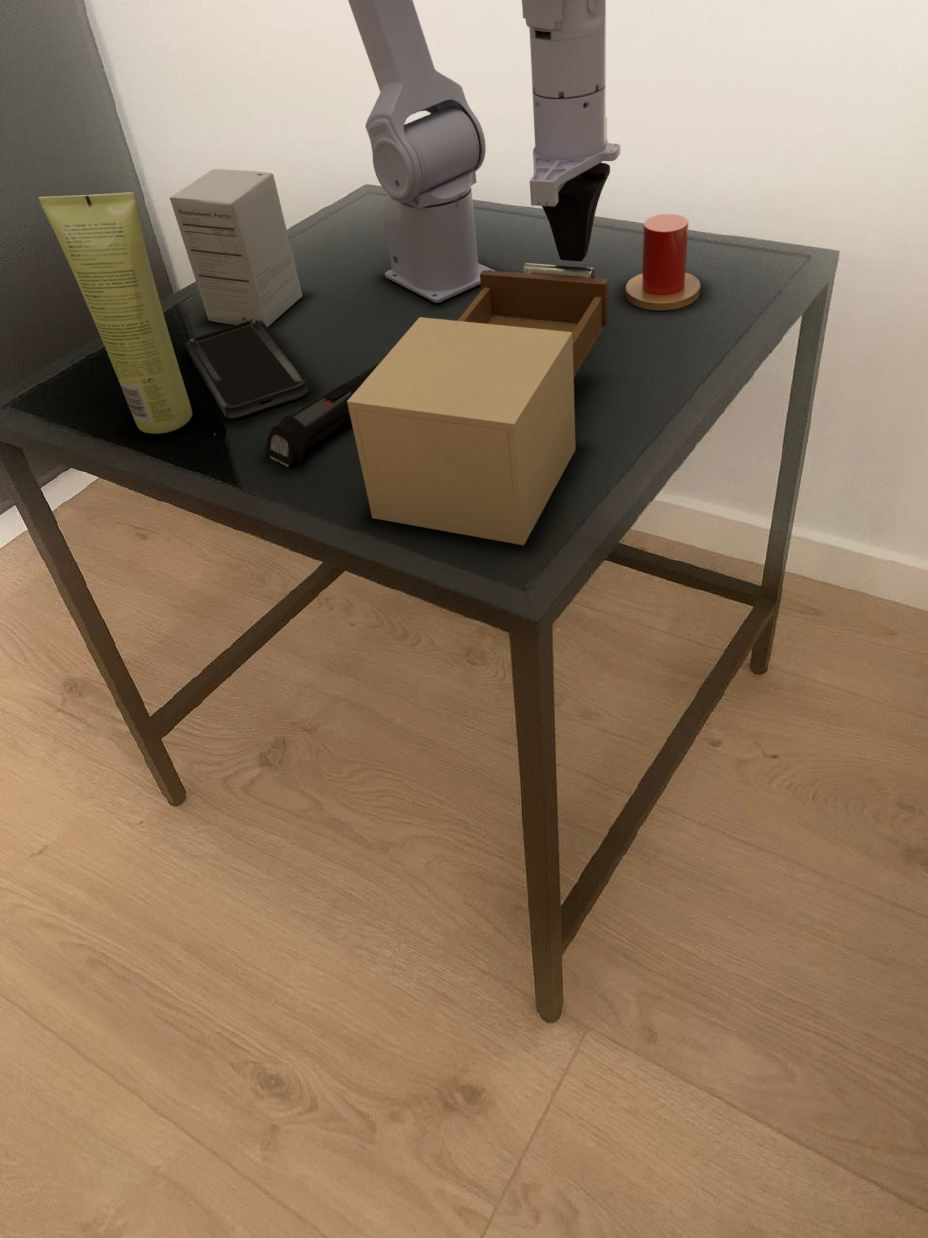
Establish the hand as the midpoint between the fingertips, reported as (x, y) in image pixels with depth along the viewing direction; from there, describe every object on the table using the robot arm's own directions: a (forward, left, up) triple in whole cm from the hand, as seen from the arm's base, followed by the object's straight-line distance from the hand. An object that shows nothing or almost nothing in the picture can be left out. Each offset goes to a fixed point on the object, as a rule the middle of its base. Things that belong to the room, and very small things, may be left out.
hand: (573, 257), depth 84 cm
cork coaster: (+1, +10, -7) cm, 12 cm away
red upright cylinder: (+1, +10, -6) cm, 12 cm away
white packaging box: (-28, -19, -7) cm, 34 cm away
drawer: (+6, -10, -2) cm, 11 cm away
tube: (-15, -35, -7) cm, 38 cm away
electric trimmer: (-3, -24, -7) cm, 25 cm away
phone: (-17, -26, -7) cm, 31 cm away
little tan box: (+12, -21, -7) cm, 26 cm away
